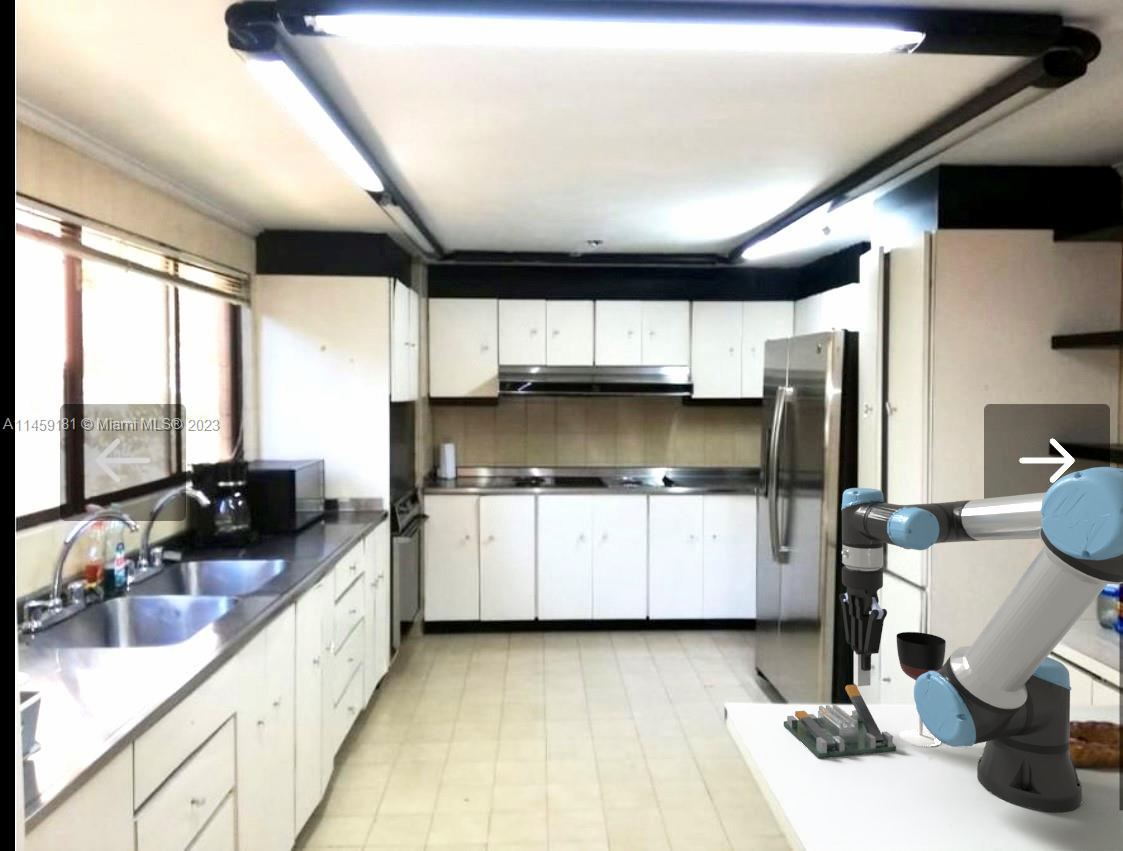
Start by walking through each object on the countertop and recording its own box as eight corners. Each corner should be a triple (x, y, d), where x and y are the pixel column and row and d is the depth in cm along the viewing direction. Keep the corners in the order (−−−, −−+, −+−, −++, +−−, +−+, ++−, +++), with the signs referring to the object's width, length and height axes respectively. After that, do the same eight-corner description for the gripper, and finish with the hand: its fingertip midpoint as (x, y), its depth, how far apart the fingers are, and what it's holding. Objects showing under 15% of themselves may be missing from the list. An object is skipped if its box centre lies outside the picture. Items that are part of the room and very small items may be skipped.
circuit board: (896, 751, 137) (896, 725, 137) (818, 758, 135) (818, 732, 135) (854, 719, 151) (855, 696, 151) (783, 726, 149) (783, 702, 149)
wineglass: (943, 752, 137) (944, 648, 136) (893, 741, 142) (894, 640, 141) (946, 735, 144) (947, 636, 143) (898, 725, 148) (899, 629, 148)
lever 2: (882, 742, 138) (884, 739, 138) (873, 743, 138) (874, 740, 137) (853, 687, 148) (855, 684, 147) (844, 688, 147) (846, 685, 147)
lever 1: (835, 747, 136) (835, 743, 136) (825, 748, 136) (825, 743, 136) (804, 715, 148) (804, 710, 148) (795, 715, 148) (795, 711, 148)
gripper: (827, 560, 148) (827, 673, 149) (863, 575, 135) (863, 698, 136) (860, 558, 149) (860, 671, 150) (900, 573, 137) (899, 695, 137)
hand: (862, 684), depth 143 cm, fingers closed
